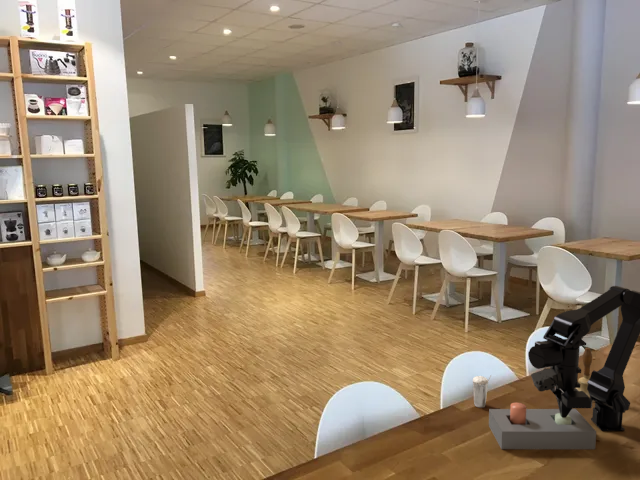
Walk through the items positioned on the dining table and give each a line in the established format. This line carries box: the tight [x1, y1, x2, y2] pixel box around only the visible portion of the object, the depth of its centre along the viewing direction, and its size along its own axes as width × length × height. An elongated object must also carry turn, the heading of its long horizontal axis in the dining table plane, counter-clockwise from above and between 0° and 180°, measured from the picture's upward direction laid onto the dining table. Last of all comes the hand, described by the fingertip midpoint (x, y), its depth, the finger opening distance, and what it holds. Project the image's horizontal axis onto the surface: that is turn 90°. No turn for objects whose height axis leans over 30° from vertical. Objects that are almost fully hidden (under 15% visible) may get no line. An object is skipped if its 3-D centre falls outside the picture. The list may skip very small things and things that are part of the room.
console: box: [488, 408, 597, 450], centre depth 143 cm, size 24×12×5 cm, turn 88°
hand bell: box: [576, 347, 595, 403], centre depth 164 cm, size 8×8×16 cm
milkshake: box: [472, 375, 492, 409], centre depth 160 cm, size 4×5×10 cm
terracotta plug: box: [509, 402, 527, 425], centre depth 142 cm, size 4×4×5 cm
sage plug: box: [555, 413, 571, 425], centre depth 142 cm, size 4×4×5 cm
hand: (563, 417), depth 142 cm, fingers closed, pressing on sage plug
